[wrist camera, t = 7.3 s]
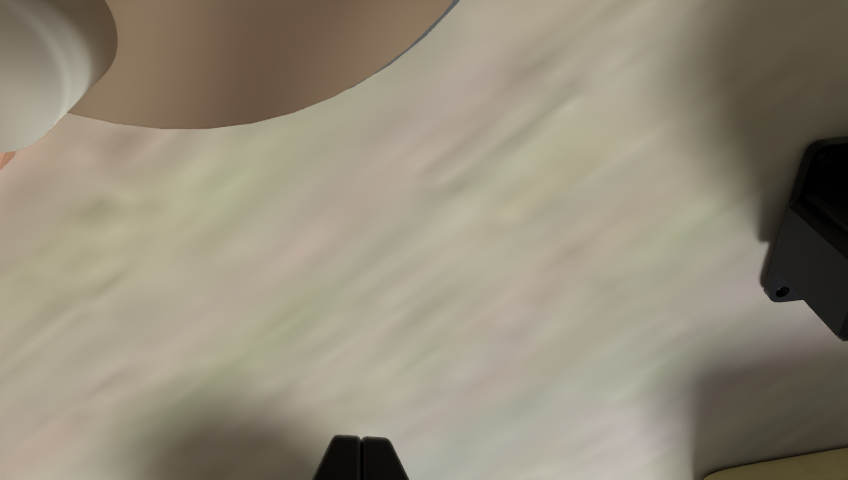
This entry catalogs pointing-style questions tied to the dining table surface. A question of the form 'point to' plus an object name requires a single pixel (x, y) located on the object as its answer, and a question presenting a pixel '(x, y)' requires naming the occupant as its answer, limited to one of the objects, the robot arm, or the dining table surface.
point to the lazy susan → (190, 58)
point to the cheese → (792, 468)
